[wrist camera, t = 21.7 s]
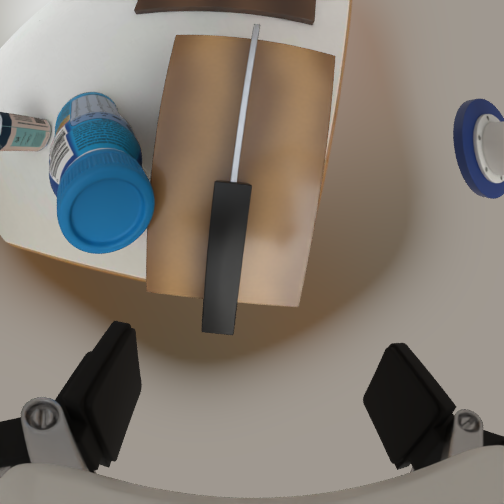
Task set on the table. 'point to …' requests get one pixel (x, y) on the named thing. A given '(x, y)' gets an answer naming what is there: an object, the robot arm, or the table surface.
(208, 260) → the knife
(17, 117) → the beige cylinder
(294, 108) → the bread box
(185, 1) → the board
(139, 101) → the table surface
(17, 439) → the robot arm
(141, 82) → the table surface
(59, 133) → the blue jar
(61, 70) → the table surface
